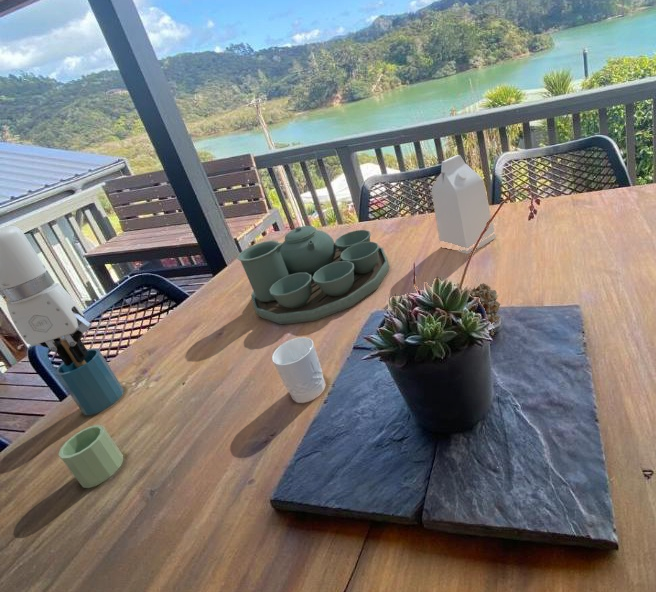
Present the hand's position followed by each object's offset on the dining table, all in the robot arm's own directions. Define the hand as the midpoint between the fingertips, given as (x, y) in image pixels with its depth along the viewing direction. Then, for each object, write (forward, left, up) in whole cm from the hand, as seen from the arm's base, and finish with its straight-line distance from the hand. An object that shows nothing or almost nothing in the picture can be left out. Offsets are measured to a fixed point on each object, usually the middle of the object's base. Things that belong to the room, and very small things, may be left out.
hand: (77, 359), depth 93 cm
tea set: (+30, +49, -13) cm, 59 cm away
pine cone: (+80, +24, -13) cm, 84 cm away
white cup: (+50, +9, -13) cm, 52 cm away
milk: (+68, +70, -13) cm, 99 cm away
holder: (+20, -14, -12) cm, 27 cm away
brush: (0, 0, -12) cm, 12 cm away
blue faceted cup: (0, 0, -12) cm, 12 cm away
